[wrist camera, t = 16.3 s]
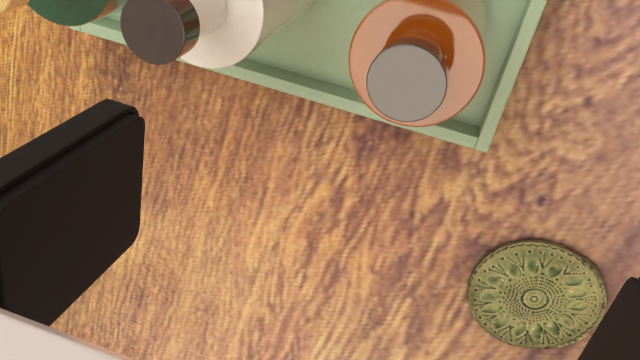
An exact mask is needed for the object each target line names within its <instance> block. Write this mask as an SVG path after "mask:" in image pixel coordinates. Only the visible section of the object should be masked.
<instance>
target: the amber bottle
mask: <svg viewBox="0 0 640 360" xmlns="http://www.w3.org/2000/svg"><path fill="white" fill-rule="evenodd" d="M487 25H488V8H487V2H486V0H380V1H379V2H378V3H377V4H376V5H375V6H374V7H373V8H372V9H371V10H370V11H369V13H368V14H367V15H366V16H365V17H364V18H363V20H362V21H361V22H360V24H359V25H358V27H357V28H356V30H355V33H354V35H353V37H352V40H351V44H350V48H349V56H348V64H349V72H350V77H351V80H352V83H353V86H354V88H355V90H356V92H357V94H358V95H359V97H360V98H361V100H362V101H363V102H364V103H365V104H366V106H367V107H368V108H369V109H371V110H372V111H373V112H374V113H375V114H377V115H378V116H380V117H381V118H383V119H385V120H387V121H389V122H392V123H395V124H398V125H402V126H408V127H425V126H432V125H435V124H439V123H442V122H444V121H447V120H449V119H450V118H452V117H454V116H455V115H457V114H458V113H460V112H461V111H462V110H463V109H464V108H465V107H466V106H467V105H468V104H469V103H470V102H471V101H472V99H473V98H474V96H475V95H476V93H477V91H478V90H479V87H480V85H481V83H482V79H483V76H484V71H485V63H486V44H487Z"/></svg>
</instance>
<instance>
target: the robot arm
mask: <svg viewBox="0 0 640 360" xmlns="http://www.w3.org/2000/svg"><path fill="white" fill-rule="evenodd" d="M144 133H145V122H144V119H143V118H142V117H140V116H139V114H138V111H137V109H136V108H135V107H132V106H129V105H126V104H123V103H120V102H117V101H114V100H111V99H105V100H103V101H101V102H99V103H97V104H95V105H94V106H92V107H90V108H88V109H87V110H85V111H83V112H81V113H80V114H78V115H76V116H74V117H72V118H71V119H69V120H67V121H65V122H64V123H62V124H60V125H58V126H57V127H55V128H53V129H51V130H49V131H48V132H46V133H44V134H42V135H41V136H39V137H37V138H35V139H33V140H32V141H30V142H28V143H26V144H25V145H23V146H21V147H19V148H18V149H16V150H14V151H12V152H10V153H9V154H7V155H5V156H3V157H2V158H0V360H135V359H132V358H130V357H127V356H124V355H122V354H119V353H117V352H114V351H111V350H109V349H106V348H104V347H101V346H98V345H96V344H93V343H91V342H88V341H85V340H83V339H80V338H78V337H75V336H72V335H70V334H67V333H65V332H62V331H59V330H57V329H54V328H52V327H49V326H50V325H51V324H52V323H53V322H54V321H55V320H56V319H57V318H58V317H59V316H60V315H61V314H62V313H63V312H64V311H65V310H66V309H67V308H68V307H69V306H70V305H71V304H72V303H73V302H75V301H76V300H77V299H78V298H79V297H80V296H81V295H82V294H83V293H84V292H85V291H86V290H87V289H88V288H89V287H90V286H91V285H92V284H93V283H94V282H95V281H96V280H97V279H98V278H99V277H100V276H101V275H102V274H103V273H104V272H105V271H106V270H107V269H108V268H109V267H110V266H111V265H112V264H113V263H114V262H115V261H116V260H117V259H118V258H119V257H120V256H121V255H122V254H123V253H124V252H125V251H126V250H127V249H128V248H129V247H130V246H131V245H132V244H133V243H134V241H135V239H136V237H137V235H138V232H139V227H140V209H141V190H142V171H143V152H144ZM578 360H640V277H639V279H637V278H634V277H630V278H629V279H628V280H627V281H626V282H625V283H624V285H623V287H622V288H621V290H620V292H619V293H618V295H617V296H616V298H615V300H614V301H613V303H612V305H611V306H610V308H609V309H608V311H607V313H606V314H605V316H604V318H603V319H602V321H601V322H600V324H599V326H598V327H597V329H596V331H595V332H594V334H593V335H592V337H591V339H590V340H589V342H588V344H587V345H586V347H585V348H584V350H583V352H582V353H581V355H580V357H579V358H578Z"/></svg>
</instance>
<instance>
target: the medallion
mask: <svg viewBox="0 0 640 360" xmlns="http://www.w3.org/2000/svg"><path fill="white" fill-rule="evenodd" d="M468 301H469V303H470V304H469V305H470V309H471V312H472V315H473V316H474V318H475V319H476V321H477V322H478V323H479V325H480V326H481V327H482V328H483V329H484V330H485V331H486V332H487V333H489V334H490V335H492V336H493V337H495V338H497V339H498V340H500V341H503V342H505V343H507V344H509V345H513V346H519V347H526V348H531V349H534V348H538V349H547V348H553V347H564V346H568V344H573V343H576V342H578V341H580V340H581V339H583V338H584V337H586V336H587V334H588V333H589V332H590V331H591V330H592V329H593V328H595V327H597V326H598V324H599V323H600V322H601V320H602V317H603V315H604V313H605V309H606V306H607V293H606V288H605V283H604V281H603V278H602V276H601V274H600V273H599V271H598V270H597V268H596V267H595V266H593V264H592V263H591V262H589V261H588V260H587V258H585V257H584V256H581V255H578V254H577V253H575V252H573V251H572V250H569V249H568V248H566V247H564V246H563V245H561V244H556V243H553V242H548V241H546V240H541V241H540V240H534V239H529V240H520V241H513V242H509V243H506V244H504V245H502V246H501V247H498V248H496V249H494V250H493V251H490V252H489V253H488V254H487V255H486V256H485V257H484V258H483V259H482V260H481V261H480V262H479V263H478V265H477V266H476V267H475V269H474V271H473V272H472V274H471V276H470V279H469V283H468Z"/></svg>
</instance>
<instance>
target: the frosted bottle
mask: <svg viewBox="0 0 640 360" xmlns="http://www.w3.org/2000/svg"><path fill="white" fill-rule="evenodd" d="M315 2H316V0H128V1H127V2H126V3H125V5H124V7H123V9H122V12H121V17H120V27H121V32H122V35H123V38H124V40H125V42H126V44H127V45H128V47H129V48H130V50H131V51H132V52H133V53H134V54H135V55H136V56H137V57H139V58H140V59H142V60H143V61H145V62H148V63H151V64H155V65H164V64H168V63H171V62H173V61H174V60H176V59H178V58H181V59H183V60H184V61H186V62H188V63H190V64H193V65H196V66H199V67H203V68H210V69H217V68H224V67H228V66H231V65H234V64H236V63H238V62H240V61H241V60H242V59H244V58H245V57H247V56H248V55H249V54H251V53H252V52H253V51H255V50H256V49H257V48H259V47H260V46H262V45H263V44H264V43H266V42H267V41H268V40H270V39H271V38H272V37H274V36H275V35H277V34H278V33H279V32H281V31H282V30H283V29H285V28H286V27H287V26H289V25H290V24H292V23H293V22H294V21H296V20H297V19H298V18H300V17H301V16H302V15H304V14H305V13H307V12H308V11H309V10H310V9H311V7H312V6H313V5H314V4H315Z"/></svg>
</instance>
